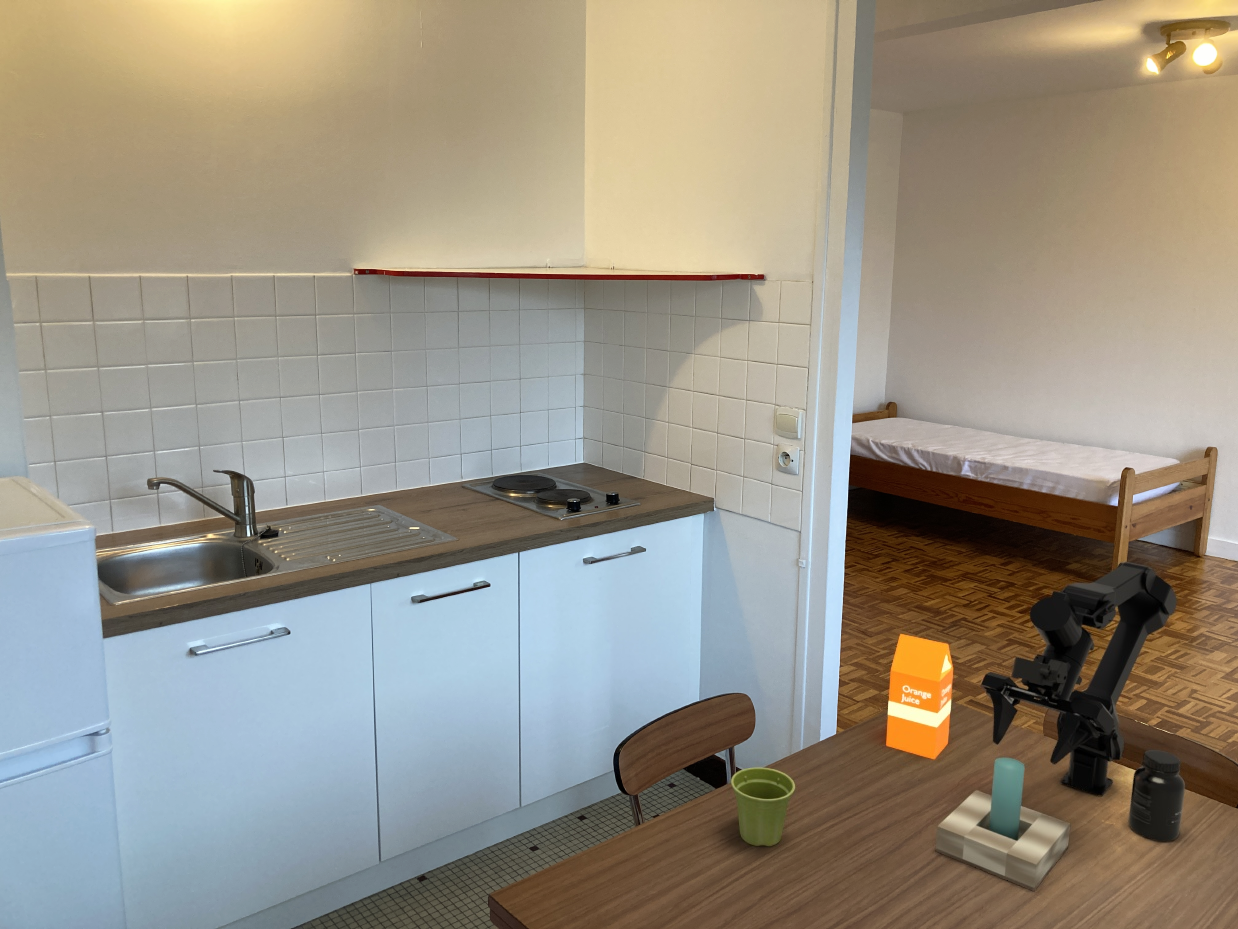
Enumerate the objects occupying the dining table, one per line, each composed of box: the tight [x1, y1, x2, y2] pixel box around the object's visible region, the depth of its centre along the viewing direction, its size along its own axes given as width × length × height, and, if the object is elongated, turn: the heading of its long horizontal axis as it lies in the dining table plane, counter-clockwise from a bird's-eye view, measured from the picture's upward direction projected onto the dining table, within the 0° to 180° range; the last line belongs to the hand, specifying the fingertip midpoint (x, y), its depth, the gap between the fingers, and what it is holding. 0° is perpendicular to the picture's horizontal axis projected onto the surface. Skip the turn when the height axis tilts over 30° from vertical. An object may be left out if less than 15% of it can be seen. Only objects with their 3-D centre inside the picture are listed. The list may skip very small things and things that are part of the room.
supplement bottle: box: [1128, 749, 1186, 842], centre depth 146 cm, size 7×7×12 cm
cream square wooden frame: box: [935, 789, 1071, 892], centre depth 141 cm, size 14×14×4 cm
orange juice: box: [885, 633, 954, 760], centre depth 172 cm, size 8×9×20 cm
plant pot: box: [730, 766, 796, 847], centre depth 144 cm, size 9×9×9 cm
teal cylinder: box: [989, 757, 1025, 841], centre depth 140 cm, size 4×4×13 cm
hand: (1023, 753), depth 143 cm, fingers open, 9 cm apart
